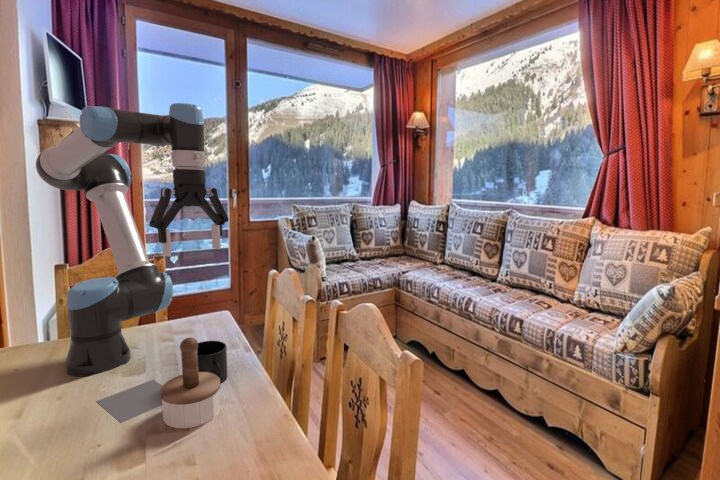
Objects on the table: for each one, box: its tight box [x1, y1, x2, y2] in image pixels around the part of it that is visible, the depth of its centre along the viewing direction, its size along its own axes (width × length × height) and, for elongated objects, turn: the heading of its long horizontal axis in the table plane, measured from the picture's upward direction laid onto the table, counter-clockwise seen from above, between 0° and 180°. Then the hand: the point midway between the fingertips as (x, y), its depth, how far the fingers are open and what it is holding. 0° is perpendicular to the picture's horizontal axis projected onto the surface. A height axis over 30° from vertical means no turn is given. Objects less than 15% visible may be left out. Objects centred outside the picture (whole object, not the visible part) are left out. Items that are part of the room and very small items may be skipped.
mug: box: [197, 340, 228, 385], centre depth 102 cm, size 9×12×9 cm
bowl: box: [161, 387, 221, 429], centre depth 88 cm, size 12×12×6 cm
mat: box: [95, 379, 163, 424], centre depth 93 cm, size 13×13×1 cm
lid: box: [161, 337, 221, 405], centre depth 87 cm, size 12×12×12 cm
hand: (193, 252), depth 103 cm, fingers open, 13 cm apart
